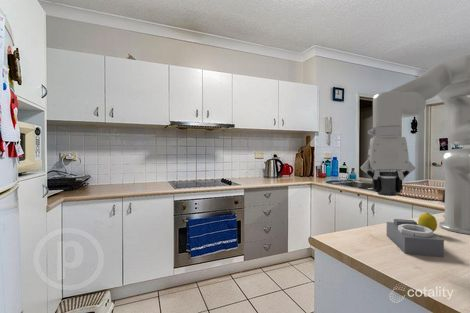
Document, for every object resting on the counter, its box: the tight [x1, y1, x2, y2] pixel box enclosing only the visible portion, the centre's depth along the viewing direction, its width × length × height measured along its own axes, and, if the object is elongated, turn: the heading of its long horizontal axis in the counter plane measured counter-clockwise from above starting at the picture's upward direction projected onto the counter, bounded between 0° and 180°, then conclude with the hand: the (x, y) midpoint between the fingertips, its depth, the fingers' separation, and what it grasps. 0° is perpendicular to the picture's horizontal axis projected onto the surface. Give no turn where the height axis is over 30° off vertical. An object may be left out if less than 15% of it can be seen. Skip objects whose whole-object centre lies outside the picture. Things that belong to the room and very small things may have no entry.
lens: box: [377, 170, 398, 197], centre depth 74 cm, size 5×5×7 cm
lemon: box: [417, 212, 438, 233], centre depth 89 cm, size 6×6×8 cm
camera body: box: [386, 218, 445, 258], centre depth 79 cm, size 16×10×6 cm, turn 165°
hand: (387, 191), depth 74 cm, fingers closed on lens, 5 cm apart
